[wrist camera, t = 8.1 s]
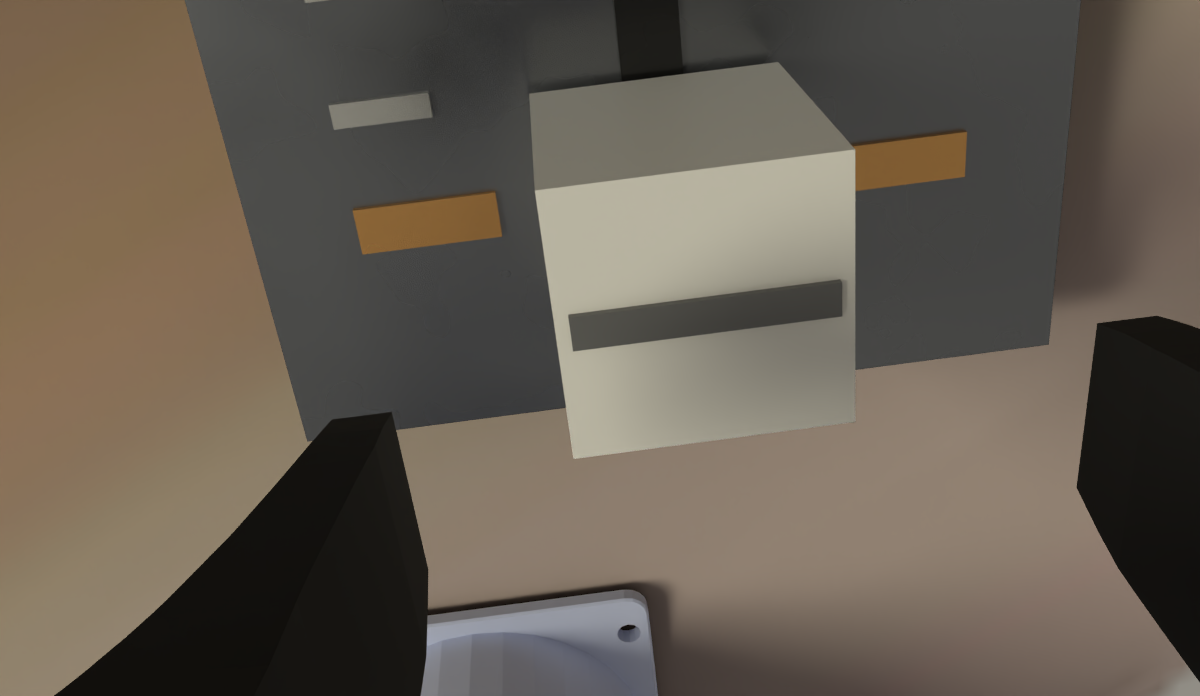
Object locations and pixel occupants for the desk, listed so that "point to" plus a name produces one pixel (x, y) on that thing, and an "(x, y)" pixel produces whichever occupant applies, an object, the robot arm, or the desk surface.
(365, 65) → the console panel
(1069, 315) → the desk surface
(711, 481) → the desk surface
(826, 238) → the fader cap
